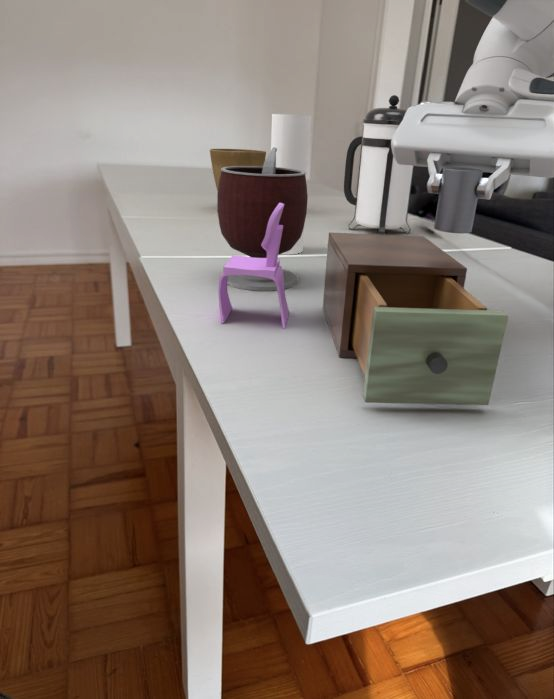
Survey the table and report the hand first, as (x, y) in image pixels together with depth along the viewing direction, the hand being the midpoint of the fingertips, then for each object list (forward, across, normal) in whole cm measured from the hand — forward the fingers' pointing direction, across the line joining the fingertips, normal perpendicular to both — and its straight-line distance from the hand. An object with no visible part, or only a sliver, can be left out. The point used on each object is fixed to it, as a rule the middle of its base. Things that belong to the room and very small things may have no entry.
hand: (457, 192), depth 64 cm
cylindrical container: (-6, -38, +32) cm, 50 cm away
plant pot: (-29, -72, +54) cm, 95 cm away
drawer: (+23, +2, +1) cm, 23 cm away
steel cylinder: (+3, 0, +4) cm, 4 cm away
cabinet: (+15, -6, +9) cm, 19 cm away
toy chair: (+20, -21, +6) cm, 29 cm away
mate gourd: (+8, -31, +17) cm, 36 cm away
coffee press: (-30, -33, +55) cm, 71 cm away
